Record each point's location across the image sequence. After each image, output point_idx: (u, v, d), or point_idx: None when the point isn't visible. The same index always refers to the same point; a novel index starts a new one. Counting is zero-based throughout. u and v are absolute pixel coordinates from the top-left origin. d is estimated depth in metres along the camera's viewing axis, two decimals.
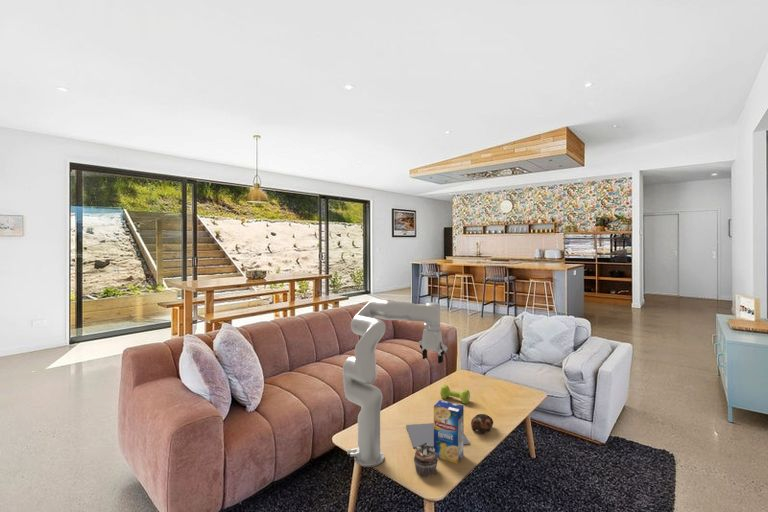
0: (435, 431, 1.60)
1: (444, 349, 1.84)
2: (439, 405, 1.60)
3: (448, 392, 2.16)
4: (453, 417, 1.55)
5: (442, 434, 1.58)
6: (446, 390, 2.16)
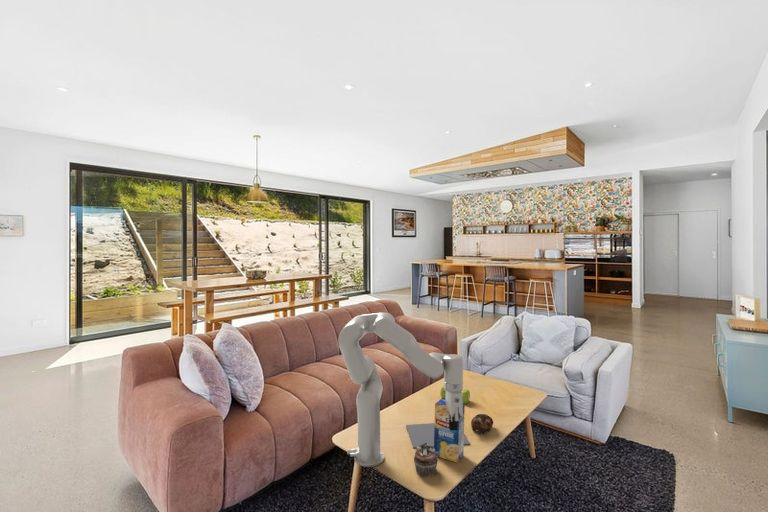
0: (435, 429, 1.60)
1: None
2: (440, 403, 1.61)
3: None
4: None
5: (442, 433, 1.59)
6: None
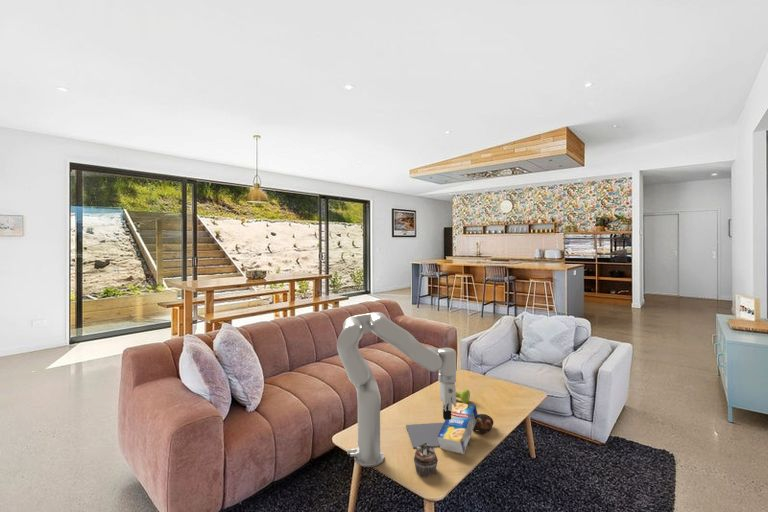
0: None
1: None
2: None
3: None
4: (469, 408, 1.75)
5: (453, 420, 1.71)
6: None
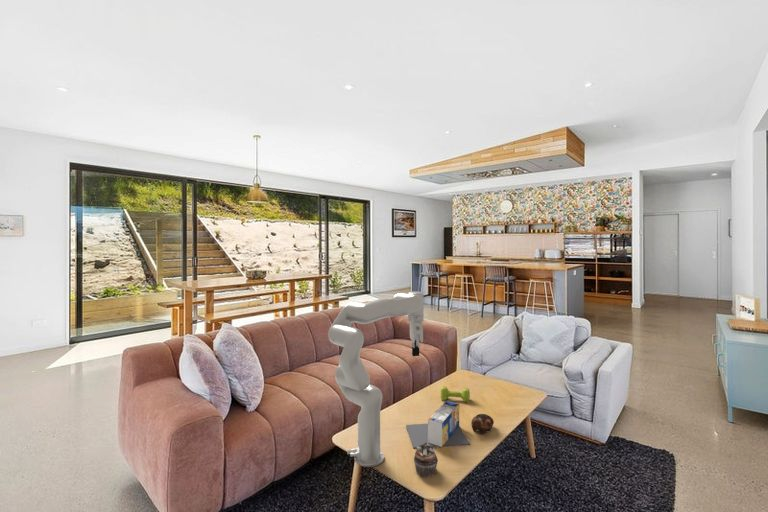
0: None
1: None
2: None
3: (448, 393, 2.14)
4: None
5: None
6: (447, 391, 2.14)
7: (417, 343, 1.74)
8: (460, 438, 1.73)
